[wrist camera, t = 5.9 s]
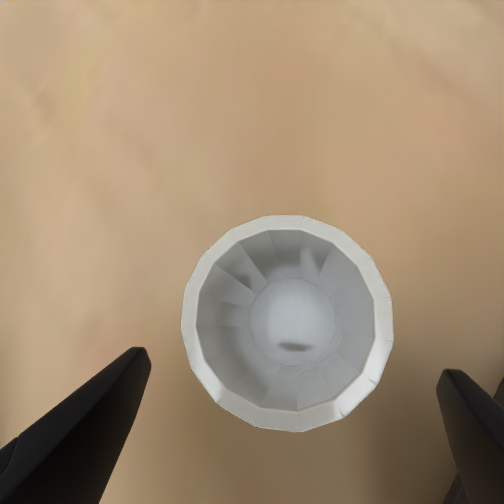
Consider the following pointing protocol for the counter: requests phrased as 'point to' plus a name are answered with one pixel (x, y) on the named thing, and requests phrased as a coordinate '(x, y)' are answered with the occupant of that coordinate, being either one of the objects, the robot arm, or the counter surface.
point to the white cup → (287, 323)
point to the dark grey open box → (457, 495)
